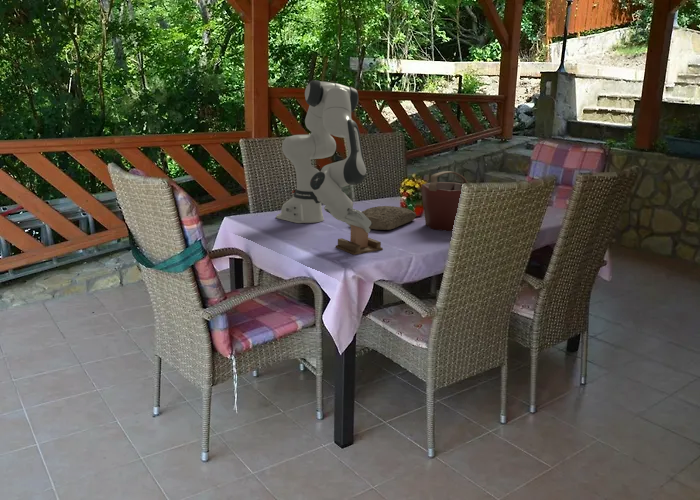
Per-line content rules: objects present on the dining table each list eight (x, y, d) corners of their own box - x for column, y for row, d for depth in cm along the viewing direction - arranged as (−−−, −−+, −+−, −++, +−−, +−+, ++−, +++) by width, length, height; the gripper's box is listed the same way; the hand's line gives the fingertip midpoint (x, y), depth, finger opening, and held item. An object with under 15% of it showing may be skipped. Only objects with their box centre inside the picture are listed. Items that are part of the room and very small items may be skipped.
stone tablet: (379, 215, 307) (348, 226, 282) (380, 198, 305) (348, 208, 280) (417, 222, 298) (388, 234, 273) (418, 204, 295) (389, 215, 270)
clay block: (355, 248, 244) (356, 221, 241) (350, 246, 247) (351, 219, 244) (367, 246, 248) (368, 219, 245) (362, 244, 250) (363, 217, 247)
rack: (353, 254, 239) (353, 246, 238) (335, 247, 248) (335, 239, 247) (382, 249, 247) (382, 241, 246) (363, 242, 256) (364, 234, 255)
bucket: (433, 234, 273) (437, 176, 267) (408, 222, 293) (411, 169, 286) (480, 229, 284) (485, 174, 277) (452, 219, 303) (456, 167, 296)
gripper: (362, 205, 230) (382, 228, 238) (331, 195, 246) (350, 217, 254) (352, 218, 229) (372, 241, 237) (321, 208, 244) (341, 229, 253)
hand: (360, 228), depth 246 cm, fingers open, 8 cm apart
